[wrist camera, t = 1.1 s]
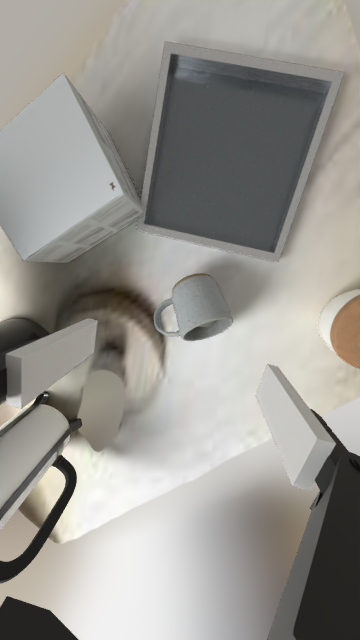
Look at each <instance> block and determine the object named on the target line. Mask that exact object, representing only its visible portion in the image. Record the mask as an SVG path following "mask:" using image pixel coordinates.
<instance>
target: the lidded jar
mask: <svg viewBox="0 0 360 640" xmlns="http://www.w3.org/2000/svg"><path fill="white" fill-rule="evenodd" d="M318 331H319V334H320V337H321V339H322V340H323V342H324V343H325V344H326V346H327V347H328V348H329V349H330V350H331V351H333V352H334V353H335V354H336V355H338V356H339V357H340V358H341V359H342V360H344V361H345V362H347V363H348V364H350V365H352V366H354V367H356V368H360V289H356V290H351V291H347V292H345V293H342V294H340V295H338V296H336V297H334V298H333V299H331V300H330V301H329V302H328V303H327V304H326V305H325V306H324V307H323V309H322V311H321V313H320V315H319V318H318Z"/></svg>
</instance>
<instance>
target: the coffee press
mask: <svg viewBox="0 0 360 640" xmlns="http://www.w3.org/2000/svg"><path fill="white" fill-rule="evenodd" d="M48 396H49V394H48V393H41V394H40V395H39V396H37V398H36V400H35V402H34V403H33V405H31V406H28V407H26V408H25V409H23V410H22V411H21V412H19V413H18V414H17V415H15V416H14V417H13V418H11V419H10V420H9V421H8V422H6V423H5V424H4V425H2V426H1V427H0V531H1V529H2V528H3V527H4V525H5V524H6V523H7V522H8V520H9V519H10V518H11V517H12V515H13V514H14V513H15V511H16V510H17V509H18V508H19V506H20V505H21V504H22V502H23V501H24V500H25V498H26V497H27V496H28V495H29V493H30V492H31V491H32V489H33V488H34V487H35V486H36V484H37V483H38V482H39V480H40V479H41V478H42V477H43V475H44V474H45V473H46V471H47V470H48V469H49V467H51V466H54V467H56V468H57V469H59V470H60V471H61V472H62V473H63V474H64V476H65V479H66V484H65V488H64V491H63V493H62V494H61V496H60V498H59V499H58V501H57V502H56V504H55V506H54V507H53V509H52V510H51V512H50V514H49V515H48V517H47V518H46V520H45V521H44V523H43V525H42V526H41V528H40V529H39V531H38V533H37V534H36V536H35V537H34V539H33V540H32V542H31V543H30V545H29V546H28V548H27V549H26V550H25V551H24V553H23V554H22V555H20V556H19V557H18V558H16V559H14V560H12V561H9V562H3V561H0V583H4V582H7V581H9V580H11V579H12V578H14V577H15V576H17V575H18V574H19V573H20V572H21V571H23V569H25V568H26V567H27V566H28V565H29V564H30V563H31V561H32V560H33V559H34V558H35V557H36V555H37V554H38V552H39V551H40V549H41V548H42V546H43V544H44V543H45V542H46V540H47V538H48V537H49V535H50V533H51V532H52V530H53V528H54V526H55V525H56V523H57V521H58V520H59V518H60V516H61V514H62V513H63V511H64V509H65V507H66V506H67V504H68V502H69V500H70V498H71V496H72V494H73V492H74V490H75V486H76V481H77V475H76V471H75V469H74V467H73V466H72V465H71V463H70V462H69V461H67V460H66V459H65V458H64V457H63V456H62V455H61V454H62V452H63V449H64V448H65V447H66V445H67V444H68V442H69V440H70V435H71V433H72V432H73V431H75V430H77V429H78V428H80V427H81V426H82V422H81V419H79V418H78V419H75V420H73V421H71V422H68V421H67V419H66V418H65V416H64V415H63V414H62V413H61V412H59V411H58V410H57V409H55V408H53V407H51V406H48V405H46V403H47V400H48ZM40 402H41V403H40Z"/></svg>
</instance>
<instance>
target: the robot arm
mask: <svg viewBox="0 0 360 640" xmlns="http://www.w3.org/2000/svg"><path fill="white" fill-rule="evenodd" d="M97 322H98V320H94V319H90V318H87V319H85V320H83V321H80V322H78V323H76V324H73V325H71V326H69V327H66V328H64V329H62V330H60V331H57V332H55V333H53V334H49V333H48V332H47V331H46V330H45V329H44V328H43V327H41V326H40V325H38V324H37V323H35V322H33V321H30V320H27V319H22V318H13V319H9V320H5V321H1V322H0V405H1V404H2V403H4V402H5V401H7V405H9V406H13V407H16V408H20V409H22V408H23V407H24V406H26V405H27V404H28V403H30V402H31V401H32V400H33V399H35V398H36V397H37V396H39V395H40V394H41V393H42V392H44V391H45V390H46V389H48V388H49V387H50V386H51V385H53V384H54V383H55V382H57V381H58V380H59V379H60V378H62V377H63V376H64V375H66V374H67V373H68V372H70V371H71V370H72V369H73V368H75V367H76V366H77V365H79V364H80V363H81V362H82V361H84V360H85V359H86V358H88V357H89V356H90V355H91V354H93V353H94V348H95V339H96V330H97ZM255 396H256V398H257V401H258V403H259V406H260V408H261V411H262V413H263V416H264V418H265V420H266V423H267V425H268V428H269V430H270V433H271V435H272V438H273V440H274V442H275V445H276V447H277V450H278V452H279V455H280V457H281V460H282V462H283V464H284V467H285V469H286V472H287V474H288V476H289V479H290V482H291V484H292V486H294V487H297V488H300V489H304V490H308V491H310V489H311V487H312V486H313V484H314V482H315V481H316V483H317V485H318V487H319V489H320V492H319V494H318V495H317V497H316V499H315V500H314V502H313V504H312V505H311V507H310V509H311V510H312V512H311V514H310V517H309V520H308V523H307V526H306V529H305V532H304V535H303V537H302V540H301V543H300V546H299V549H298V552H297V555H296V557H295V561H294V564H293V566H292V569H291V572H290V575H289V578H288V580H287V583H286V586H285V589H284V592H283V595H282V598H281V601H280V603H279V606H278V609H277V612H276V615H275V618H274V621H273V624H272V626H271V630H270V632H269V635H268V638H267V640H360V456H358V455H356V454H354V453H351V452H349V451H348V450H347V449H346V448H345V446H344V445H343V444H342V443H341V441H340V440H339V439H338V438H337V436H336V435H335V434H334V433H333V432H332V430H331V429H330V428H329V427H328V426H327V424H326V422H325V421H324V420H323V419H322V417H321V416H319V415H318V414H317V413H316V412H315V411H314V410H312V409H309V407H308V406H307V405H306V403H305V402H304V401H303V399H302V398H301V397H300V395H299V394H298V393H297V391H296V390H295V389H294V387H293V386H292V385H291V384H290V382H289V381H288V380H287V378H286V377H285V376H284V374H283V373H282V372H281V370H280V369H279V368H278V367H277V366H273V365H269V364H267V366H266V369H265V372H264V374H263V377H262V379H261V382H260V384H259V387H258V390H257V392H256V395H255ZM0 640H78V639H77V638H76V637H75V636H74V635H73V634H72V633H71V632H70V630H69V629H68V628H66V627H65V625H64V624H63V623H62V622H61V621H60V620H59V619H58V618H57V617H56V616H55V615H54V614H53V613H52V612H51V611H50V610H47V609H44V608H41V607H38V606H35V605H32V604H29V603H26V602H23V601H20V600H17V599H14V598H11V597H8V596H7V597H6V599H5V600H4V602H3V604H2V605H1V607H0Z"/></svg>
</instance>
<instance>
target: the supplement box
mask: <svg viewBox="0 0 360 640" xmlns="http://www.w3.org/2000/svg"><path fill="white" fill-rule="evenodd" d="M143 211H144V210H143V208H142V205H141V200H140V198H139V196H138V194H137V192H136V190H135V188H134V186H133V184H132V181H131V179H130V177H129V175H128V173H127V171H126V169H125V167H124V165H123V163H122V161H121V159H120V157H119V155H118V153H117V150H116V148H115V146H114V144H113V142H112V140H111V138H110V136H109V134H108V132H107V130H106V129H105V127H104V126H103V125H102V123H101V122H100V121H99V119H98V118H97V117H96V115H95V114H94V113H93V111H92V110H91V109H90V107H89V106H88V105H87V103H86V102H85V101H84V99H83V98H82V97H81V95H80V94H79V93H78V91H77V90H76V89H75V87H74V86H73V85H72V83H71V82H70V81H69V79H68V78H67V77H66V76H65V74H64V73H62V74H61V75H60V76H59V77H58V78H57V79H56V80H55V81H53V82H52V83H51V84H50V85H49V86H48V87H47V88H46V89H45V90H44V91H43V92H42V93H40V94H39V95H38V96H37V97H36V98H35V99H34V100H33V101H32V102H31V103H30V104H29V105H27V106H26V107H25V108H24V109H23V110H22V111H21V112H20V113H19V114H18V115H17V116H16V117H15V118H13V119H12V120H11V121H10V122H9V123H8V124H7V125H6V126H5V127H4V128H2V129H1V130H0V225H1V227H2V229H3V230H4V232H5V233H6V235H7V236H8V238H9V240H10V241H11V243H12V244H13V246H14V248H15V249H16V251H17V252H18V254H19V255H20V257H21V259H22V260H23V261H24V262H63V263H68V262H69V261H71V260H73V259H74V258H76V257H78V256H79V255H81V254H82V253H84V252H86V251H87V250H89V249H91V248H92V247H94V246H95V245H97V244H99V243H100V242H102V241H103V240H105V239H107V238H108V237H110V236H111V235H113V234H115V233H116V232H118V231H120V230H121V229H123V228H124V227H126V226H128V225H129V224H131V223H132V222H134V221H136V220H137V219H138V216H139V214H140V213H142V212H143Z"/></svg>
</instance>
